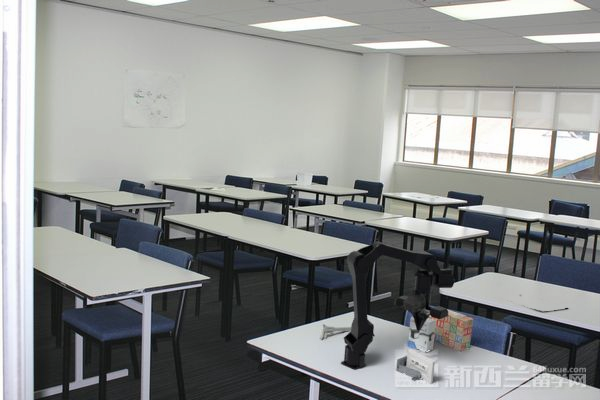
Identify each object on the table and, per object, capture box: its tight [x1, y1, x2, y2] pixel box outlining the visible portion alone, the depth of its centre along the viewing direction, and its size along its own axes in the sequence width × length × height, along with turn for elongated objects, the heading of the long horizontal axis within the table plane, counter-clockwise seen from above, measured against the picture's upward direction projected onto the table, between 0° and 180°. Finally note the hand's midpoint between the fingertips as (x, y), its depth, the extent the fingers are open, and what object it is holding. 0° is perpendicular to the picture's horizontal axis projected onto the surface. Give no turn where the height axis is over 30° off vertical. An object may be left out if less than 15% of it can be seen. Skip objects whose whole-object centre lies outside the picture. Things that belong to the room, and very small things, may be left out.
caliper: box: [319, 323, 351, 340], centre depth 231 cm, size 20×1×6 cm, turn 137°
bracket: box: [395, 355, 421, 382], centre depth 199 cm, size 9×9×4 cm
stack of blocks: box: [428, 308, 474, 352], centre depth 233 cm, size 21×6×12 cm, turn 40°
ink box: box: [407, 316, 436, 351], centre depth 223 cm, size 8×5×12 cm, turn 47°
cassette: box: [406, 348, 436, 385], centre depth 197 cm, size 12×2×8 cm, turn 32°
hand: (418, 330), depth 208 cm, fingers closed
